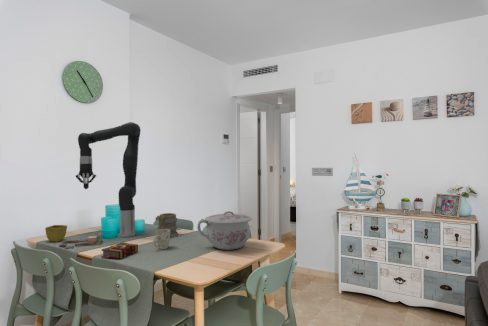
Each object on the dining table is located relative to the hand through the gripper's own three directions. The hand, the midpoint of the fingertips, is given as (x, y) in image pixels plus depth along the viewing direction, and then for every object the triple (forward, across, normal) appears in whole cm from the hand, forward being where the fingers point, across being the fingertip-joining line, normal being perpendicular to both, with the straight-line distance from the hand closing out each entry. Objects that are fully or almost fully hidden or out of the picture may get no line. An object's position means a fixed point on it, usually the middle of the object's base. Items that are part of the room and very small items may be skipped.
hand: (86, 189), depth 213 cm
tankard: (+31, -49, +21) cm, 62 cm away
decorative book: (+32, -22, +56) cm, 68 cm away
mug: (+31, -44, +51) cm, 74 cm away
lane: (+31, 0, +24) cm, 39 cm away
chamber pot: (+31, -81, +60) cm, 106 cm away
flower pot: (+31, +16, +10) cm, 36 cm away
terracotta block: (+31, -6, +24) cm, 40 cm away
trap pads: (+31, +3, +24) cm, 39 cm away
